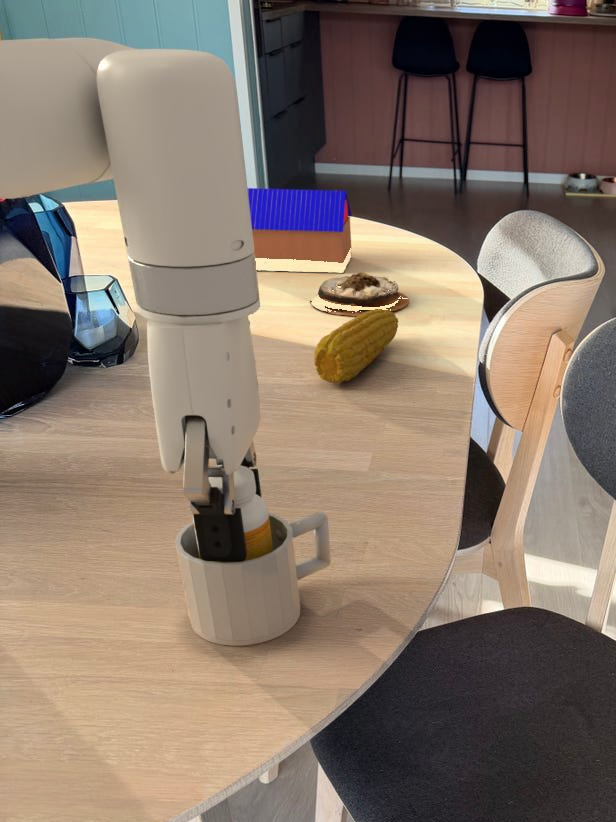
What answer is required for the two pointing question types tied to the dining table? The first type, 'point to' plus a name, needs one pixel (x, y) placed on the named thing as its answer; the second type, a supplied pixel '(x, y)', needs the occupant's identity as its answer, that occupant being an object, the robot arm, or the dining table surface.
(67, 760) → the dining table surface
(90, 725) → the dining table surface
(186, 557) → the coffee mug
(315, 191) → the house
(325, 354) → the food
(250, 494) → the supplement bottle
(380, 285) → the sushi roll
